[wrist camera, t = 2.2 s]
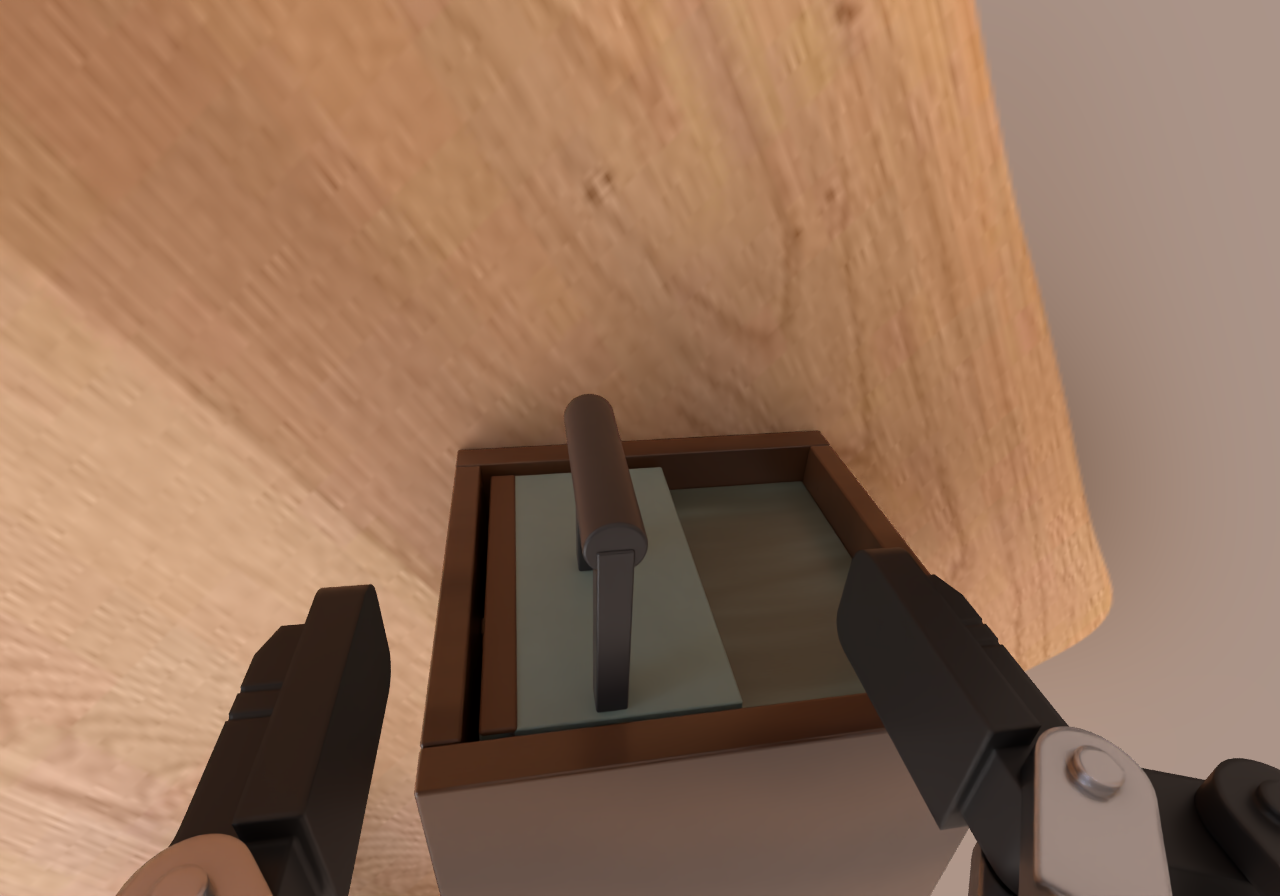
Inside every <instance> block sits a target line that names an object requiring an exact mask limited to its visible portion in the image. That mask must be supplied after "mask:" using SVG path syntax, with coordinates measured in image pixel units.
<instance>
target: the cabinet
mask: <svg viewBox="0 0 1280 896" xmlns="http://www.w3.org/2000/svg"><path fill="white" fill-rule="evenodd" d="M621 443H622V446H623V450H624V454H625V457H626V461H627V465H628V468H629V469H638V468H655V467H661V468H662V471H663V473H664V476H665V479H666V482H667V485H668V488H669V491H670V494H671V496H672V499H673V502H674V505H675V508H676V511H677V514H678V517H679V519H680V522H681V525H682V528H683V531H684V534H685V537H686V540H687V542H688V545H689V548H690V551H691V554H692V557H693V560H694V563H695V565H696V568H697V571H698V574H699V577H700V580H701V583H702V586H703V588H704V591H705V594H706V597H707V600H708V603H709V606H710V609H711V612H712V614H713V617H714V620H715V623H716V626H717V629H718V632H719V635H720V637H721V640H722V643H723V646H724V649H725V652H726V655H727V658H728V660H729V663H730V666H731V669H732V672H733V675H734V678H735V681H736V683H737V686H738V689H739V692H740V695H741V698H742V701H743V704H742V708H739V709H731V710H723V711H715V712H707V713H698V714H690V715H682V716H674V717H666V718H658V719H650V720H642V721H634V722H626V723H618V724H610V725H602V726H594V727H586V728H578V729H570V730H562V731H554V732H546V733H538V734H530V735H522V736H514V737H506V738H498V739H490V740H482V741H480V738H479V715H480V694H481V673H482V652H483V630H484V609H485V588H486V566H487V545H488V524H489V503H490V481H491V477H492V476H506V475H515V476H524V475H540V474H557V473H571V467H570V460H569V453H568V445H548V446H530V447H511V448H493V449H474V450H459V451H458V454H457V461H456V470H455V478H454V486H453V494H452V502H451V509H450V517H449V525H448V533H447V540H446V548H445V556H444V564H443V571H442V579H441V587H440V595H439V603H438V610H437V618H436V626H435V634H434V641H433V649H432V657H431V665H430V672H429V680H428V688H427V696H426V704H425V711H424V719H423V727H422V735H421V742H420V746H421V751H420V753H419V759H418V767H417V775H416V782H415V790H414V795H415V799H416V803H417V807H418V811H419V815H420V818H421V822H422V826H423V830H424V834H425V838H426V842H427V845H428V849H429V853H430V857H431V861H432V865H433V869H434V873H435V876H436V880H437V884H438V888H439V892H440V896H930V895H931V893H932V892H933V890H934V888H935V886H936V885H937V883H938V881H939V879H940V878H941V876H942V874H943V873H944V871H945V869H946V867H947V866H948V864H949V862H950V860H951V859H952V857H953V855H954V853H955V852H956V850H957V848H958V846H959V845H960V843H961V841H962V840H963V838H964V836H965V834H966V832H967V831H968V829H969V826H966V827H959V828H952V829H946V830H940V829H939V827H938V825H937V824H936V822H935V820H934V818H933V816H932V814H931V812H930V811H929V809H928V807H927V805H926V803H925V801H924V799H923V797H922V796H921V794H920V792H919V790H918V788H917V786H916V784H915V783H914V781H913V779H912V777H911V775H910V773H909V771H908V770H907V768H906V766H905V764H904V762H903V760H902V758H901V756H900V755H899V753H898V751H897V749H896V747H895V745H894V743H893V742H892V740H891V738H890V736H889V734H888V732H887V730H886V728H885V727H884V725H883V723H882V721H881V719H880V717H879V715H878V714H877V712H876V710H875V708H874V706H873V704H872V702H871V701H870V699H869V697H868V695H867V693H866V691H865V689H864V687H863V686H862V684H861V682H860V680H859V678H858V676H857V674H856V673H855V671H854V669H853V667H852V665H851V663H850V661H849V660H848V658H847V656H846V654H845V652H844V650H843V648H842V646H841V643H840V640H839V637H838V632H837V611H838V607H839V604H840V600H841V597H842V593H843V590H844V586H845V583H846V579H847V576H848V572H849V569H850V565H851V562H852V558H853V556H854V554H855V553H856V552H857V551H859V550H866V549H879V548H893V547H901V548H904V549H905V550H907V551H908V552H909V553H910V555H911V556H912V557H913V559H914V560H915V561H916V562H917V564H918V565H919V566H920V568H921V569H922V570H923V572H924V573H925V574H926V575H931V574H930V573H929V572H928V571H927V569H926V568H925V567H924V565H923V564H922V563H921V562H920V560H919V559H918V558H917V556H916V555H915V554H914V553H913V551H912V550H911V549H910V547H909V546H908V545H907V544H906V542H905V541H904V540H903V538H902V537H901V536H900V535H899V533H898V532H897V531H896V529H895V528H894V527H893V526H892V524H891V523H890V522H889V520H888V519H887V518H886V517H885V515H884V514H883V513H882V511H881V510H880V509H879V508H878V506H877V505H876V504H875V502H874V501H873V500H872V499H871V497H870V496H869V495H868V493H867V492H866V491H865V490H864V488H863V487H862V486H861V485H860V483H859V482H858V481H857V479H856V478H855V477H854V476H853V474H852V473H851V472H850V470H849V469H848V468H847V467H846V465H845V464H844V463H843V461H842V460H841V459H840V458H839V456H838V455H837V454H836V452H835V451H834V450H833V449H832V447H831V446H830V444H829V443H828V441H827V440H826V439H825V438H824V436H823V435H822V434H821V433H820V431H806V432H788V433H769V434H751V435H732V436H714V437H695V438H677V439H659V440H640V441H622V442H621Z"/></svg>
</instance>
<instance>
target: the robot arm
mask: <svg viewBox="0 0 1280 896" xmlns="http://www.w3.org/2000/svg"><path fill="white" fill-rule="evenodd" d="M837 632H838V637H839V640H840V643H841V646H842V648H843V650H844V652H845V654H846V656H847V658H848V660H849V661H850V663H851V665H852V667H853V669H854V671H855V673H856V674H857V676H858V678H859V680H860V682H861V684H862V686H863V687H864V689H865V691H866V693H867V695H868V697H869V699H870V701H871V702H872V704H873V706H874V708H875V710H876V712H877V714H878V715H879V717H880V719H881V721H882V723H883V725H884V727H885V728H886V730H887V732H888V734H889V736H890V738H891V740H892V742H893V743H894V745H895V747H896V749H897V751H898V753H899V755H900V756H901V758H902V760H903V762H904V764H905V766H906V768H907V770H908V771H909V773H910V775H911V777H912V779H913V781H914V783H915V784H916V786H917V788H918V790H919V792H920V794H921V796H922V797H923V799H924V801H925V803H926V805H927V807H928V809H929V811H930V812H931V814H932V816H933V818H934V820H935V822H936V824H937V825H938V827H939V829H940V830H946V829H952V828H959V827H966V826H969V828H970V830H971V832H972V833H973V835H974V837H975V839H976V840H977V843H976V845H975V847H974V849H973V853H972V859H971V870H970V883H969V893H968V896H1280V770H1279V769H1277V768H1275V767H1272V766H1269V765H1267V764H1264V763H1261V762H1257V761H1254V760H1248V759H1243V758H1233V759H1228V760H1225V761H1223V762H1221V763H1220V764H1219V765H1218V766H1217V767H1216V768H1215V769H1214V771H1213V772H1212V773H1211V774H1210V775H1209V776H1208V778H1207V779H1206V780H1202V779H1197V778H1192V777H1186V776H1181V775H1175V774H1170V773H1164V772H1160V771H1155V770H1149V769H1144V768H1141V767H1140V766H1139V765H1138V764H1137V763H1136V762H1135V761H1134V760H1133V759H1132V758H1131V757H1130V756H1129V755H1128V754H1126V753H1125V752H1124V751H1123V750H1122V749H1120V748H1119V747H1117V746H1116V745H1114V744H1113V743H1111V742H1110V741H1108V740H1106V739H1104V738H1103V737H1101V736H1099V735H1096V734H1094V733H1092V732H1089V731H1086V730H1083V729H1079V728H1074V727H1069V726H1068V725H1067V723H1066V722H1065V721H1064V720H1063V719H1062V718H1061V716H1060V715H1059V714H1058V713H1057V711H1056V710H1055V709H1054V708H1053V706H1052V705H1051V704H1050V703H1049V701H1048V700H1047V699H1046V698H1045V697H1044V695H1043V694H1042V693H1041V692H1040V690H1039V689H1038V688H1037V687H1036V685H1035V684H1034V683H1033V682H1032V680H1031V679H1030V678H1029V677H1028V675H1027V674H1026V673H1025V672H1024V670H1023V669H1022V668H1021V667H1020V666H1019V664H1018V663H1017V662H1016V661H1015V659H1014V658H1013V657H1012V656H1011V654H1010V653H1009V652H1008V651H1007V649H1006V648H1005V647H1004V646H1003V645H1000V644H999V643H998V638H997V637H996V636H995V635H994V633H993V632H992V631H991V630H990V628H989V627H988V626H987V625H986V624H983V623H982V618H981V617H980V616H979V615H978V613H977V612H976V611H975V610H974V608H973V607H972V606H971V605H970V604H969V602H968V601H967V600H966V599H965V597H964V596H963V595H962V594H961V593H959V592H958V591H957V590H955V589H954V588H952V587H951V586H950V585H948V584H947V583H946V582H944V581H943V580H941V579H940V578H939V577H937V576H936V575H935V574H933V575H926V574H925V573H924V572H923V570H922V569H921V568H920V566H919V565H918V564H917V562H916V561H915V560H914V559H913V557H912V556H911V555H910V553H909V552H908V551H907V550H905V549H904V548H901V547H893V548H879V549H866V550H859V551H857V552H856V553H855V554H854V556H853V558H852V562H851V565H850V569H849V572H848V576H847V579H846V583H845V586H844V590H843V593H842V597H841V600H840V604H839V607H838V611H837ZM390 678H391V661H390V651H389V647H388V642H387V638H386V633H385V629H384V625H383V620H382V616H381V611H380V607H379V602H378V598H377V594H376V590H375V588H374V586H373V585H371V584H369V585H356V586H342V587H328V588H321V589H319V590H318V592H317V593H316V595H315V598H314V600H313V603H312V606H311V608H310V611H309V614H308V617H307V619H306V622H305V624H299V625H287V626H281V627H280V628H279V629H278V630H277V631H276V632H275V633H274V634H273V636H272V637H271V638H270V639H269V640H268V641H267V642H266V643H265V644H264V645H263V646H262V647H261V648H260V649H259V651H258V652H257V653H256V654H255V655H254V657H253V659H252V662H251V664H250V666H249V669H248V671H247V673H246V676H245V678H244V680H243V683H242V685H241V692H240V693H239V694H237V696H236V699H235V701H234V703H233V706H232V708H231V710H230V713H229V720H228V721H226V722H225V724H224V727H223V729H222V731H221V733H220V736H219V738H218V740H217V743H216V745H215V747H214V750H213V752H212V754H211V757H210V759H209V761H208V764H207V766H206V768H205V770H204V773H203V775H202V777H201V780H200V782H199V784H198V787H197V789H196V791H195V794H194V796H193V798H192V801H191V803H190V805H189V807H188V810H187V812H186V814H185V817H184V819H183V821H182V824H181V826H180V828H179V830H178V832H177V834H176V836H175V838H174V840H173V841H172V843H171V844H170V846H169V847H168V848H167V849H165V850H163V851H162V852H160V853H159V854H157V855H156V856H154V857H153V858H152V859H150V860H149V861H148V862H146V863H145V864H144V865H143V866H142V867H141V868H140V869H138V870H137V871H136V872H135V873H134V874H133V875H132V876H131V877H130V879H129V880H128V881H127V882H126V883H125V884H124V885H123V887H122V888H121V889H120V891H119V892H118V893H117V895H116V896H348V894H349V889H350V884H351V879H352V874H353V869H354V864H355V859H356V854H357V849H358V844H359V839H360V834H361V829H362V824H363V819H364V814H365V809H366V804H367V799H368V794H369V789H370V784H371V779H372V774H373V769H374V764H375V759H376V754H377V749H378V744H379V739H380V734H381V729H382V724H383V719H384V714H385V709H386V704H387V699H388V694H389V688H390Z"/></svg>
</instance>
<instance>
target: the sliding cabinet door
mask: <svg viewBox="0 0 1280 896" xmlns="http://www.w3.org/2000/svg"><path fill="white" fill-rule="evenodd" d="M564 423H565V431H566V438H567V445H568V453H569V460H570V467H571V473H557V474H540V475H524V476H515V475H506V476H492V477H491V481H490V503H489V524H488V545H487V566H486V588H485V609H484V630H483V652H482V673H481V694H480V715H479V738H480V741H482V740H490V739H498V738H506V737H514V736H522V735H530V734H538V733H546V732H554V731H562V730H570V729H578V728H586V727H594V726H602V725H610V724H618V723H626V722H634V721H642V720H650V719H658V718H666V717H674V716H682V715H690V714H698V713H707V712H715V711H723V710H731V709H739V708H742V704H743V701H742V698H741V695H740V692H739V689H738V686H737V683H736V681H735V678H734V675H733V672H732V669H731V666H730V663H729V660H728V658H727V655H726V652H725V649H724V646H723V643H722V640H721V637H720V635H719V632H718V629H717V626H716V623H715V620H714V617H713V614H712V612H711V609H710V606H709V603H708V600H707V597H706V594H705V591H704V588H703V586H702V583H701V580H700V577H699V574H698V571H697V568H696V565H695V563H694V560H693V557H692V554H691V551H690V548H689V545H688V542H687V540H686V537H685V534H684V531H683V528H682V525H681V522H680V519H679V517H678V514H677V511H676V508H675V505H674V502H673V499H672V496H671V494H670V491H669V488H668V485H667V482H666V479H665V476H664V473H663V471H662V468H661V467H655V468H638V469H629V468H628V465H627V461H626V457H625V454H624V450H623V446H622V443H621V439H620V435H619V432H618V428H617V424H616V420H615V417H614V413H613V409H612V407H611V405H610V404H609V402H608V401H607V400H606V399H604V398H602V397H600V396H598V395H594V394H585V395H581V396H578V397H576V398H575V399H573V400H572V401H571V402H570V403H569V404H568V406H567V407H566V409H565V412H564Z"/></svg>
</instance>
